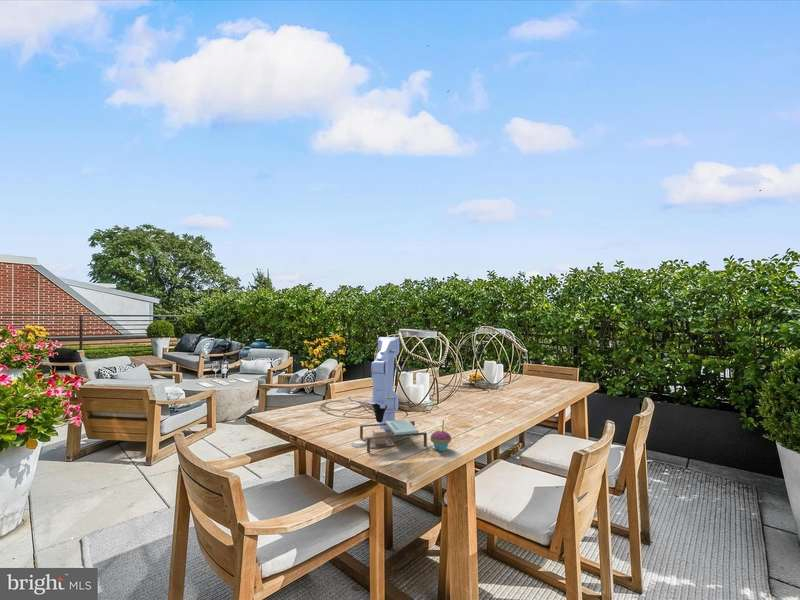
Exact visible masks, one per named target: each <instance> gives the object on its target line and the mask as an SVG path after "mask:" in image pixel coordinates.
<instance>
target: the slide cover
mask: <svg viewBox="0 0 800 600" xmlns="http://www.w3.org/2000/svg"><path fill="white" fill-rule="evenodd" d="M409 421H410V420H408V419H407V418H406V419H395V420H393V421H386V424H387V426H388V427H389V428H390V429H391V430H390V431H392V433H393V435H402V434H413V433H420V431H419V429H418V428H416V426H415V427H414V426H413V425H412V423H410V422H409Z"/></svg>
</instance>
